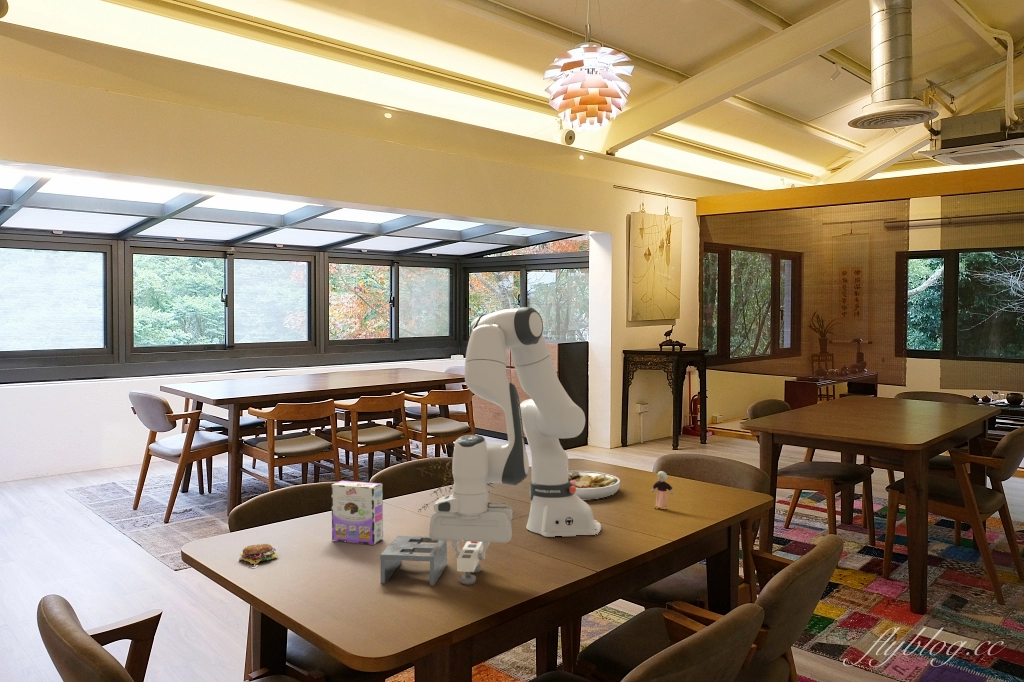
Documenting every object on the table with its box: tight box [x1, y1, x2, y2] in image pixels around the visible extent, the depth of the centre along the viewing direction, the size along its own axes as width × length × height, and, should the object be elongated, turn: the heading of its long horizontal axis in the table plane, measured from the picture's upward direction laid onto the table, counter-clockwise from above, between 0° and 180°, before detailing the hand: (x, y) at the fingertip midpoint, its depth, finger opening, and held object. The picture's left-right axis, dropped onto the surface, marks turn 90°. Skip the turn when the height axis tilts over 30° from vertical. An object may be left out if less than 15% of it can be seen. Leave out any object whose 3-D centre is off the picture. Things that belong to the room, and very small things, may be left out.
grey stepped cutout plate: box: [380, 535, 448, 587], centre depth 176 cm, size 13×15×7 cm
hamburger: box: [239, 543, 279, 568], centre depth 185 cm, size 14×14×6 cm
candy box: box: [330, 480, 384, 546], centre depth 202 cm, size 14×6×16 cm, turn 71°
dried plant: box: [397, 426, 495, 513], centre depth 229 cm, size 30×31×45 cm
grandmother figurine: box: [650, 470, 675, 509], centre depth 236 cm, size 8×4×13 cm, turn 68°
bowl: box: [568, 470, 621, 499], centre depth 260 cm, size 30×30×8 cm
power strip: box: [456, 541, 484, 586], centre depth 174 cm, size 4×15×7 cm, turn 174°
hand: (470, 558), depth 174 cm, fingers closed on power strip, 4 cm apart
